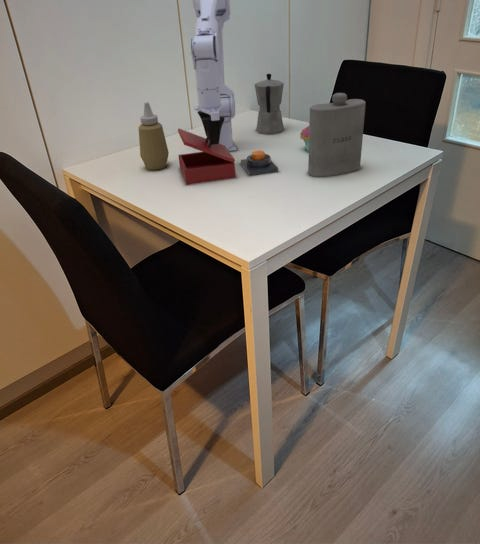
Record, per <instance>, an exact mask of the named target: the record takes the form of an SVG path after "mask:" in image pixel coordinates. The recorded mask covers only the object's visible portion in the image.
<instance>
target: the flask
mask: <svg viewBox="0 0 480 544" xmlns="http://www.w3.org/2000/svg"><path fill="white" fill-rule="evenodd" d="M331 98H332V99H331V102H327V103H318V104H317V103H316V104H312V105H311V106H310V107H309V123H308V124H309V125H308V126H309V151H308V163H307V164H308V166H307V170H308V171H307V173H308V175H309V176H311V177H315V178H323V177H324V178H325V177H331V176H339V175H344V174H348V173H352V172H355V171H357V170H359V169H360V168H361V163H362V162H361V160H362V149H363V137H364V127H365V125H364V124H365V115H366V101H365V100H364V99H361V98H350V99H348V95H347V94H346V93H345V92H335V93H334V94H333V95H332V96H331Z"/></svg>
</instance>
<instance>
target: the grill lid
mask: <svg viewBox="0 0 480 544" xmlns="http://www.w3.org/2000/svg"><path fill="white" fill-rule="evenodd" d="M177 133H178V135H179V137H180V139H181V141H182V143H183V145H184V146H186V147H190V148H192V149H195V150H198V151H199V152H205V153H208V154H211V155H214V156H216V157H219V158H222V159H225V160H227V161H230V162H233V163H235V161H236V160H235V158H234V156H233V155H232V154H231V151H228V149H227V148H226V146H224V145H222V144H214V145H211V143H210V140H209V136H208V132H207V136H206V137H203V136H201V135H198V134H195V133H192V132H191V131H187V130H184V129H182V128H179V127H178V128H177Z"/></svg>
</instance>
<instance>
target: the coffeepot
mask: <svg viewBox="0 0 480 544" xmlns="http://www.w3.org/2000/svg"><path fill="white" fill-rule="evenodd" d="M265 76H266V79H264V80H259V81H258V82H256V83H254V84H253V85H254V88H255V95H256V101H257V105H258V107H259V110H258V114H257V121H256V130H255V131H257V132H258V133H259V134H264V135H274V134H279V133H281V132H283V130H284V129H285V127H284V121H283V115H282V110H281V104H282V101H283V94H284V93H283V92H284V85H285V82H283V81H281V80H277V79H272V74H271V73H267V74H265Z"/></svg>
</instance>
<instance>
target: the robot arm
mask: <svg viewBox="0 0 480 544" xmlns="http://www.w3.org/2000/svg"><path fill="white" fill-rule="evenodd" d="M192 5H193V8H194V13H195V16H196V18H197V19H196V21H195V27H194V29H195V30H194V35H193V38H190V44H189V46H190V56H191V59H192V64H193V65H192V66H193V70H194V71H195V81H196V83H195V84H196V92H197V93H196V94H197V102H198V105H195V106H193V109H194V111H195V112H196V111H197V114H198V116H199V118H200V120H201V122H202V125H203V130H204V133H205V136H206V137H207V132H208V136H209V140H210V143H211V145H214V144H222V145H224V146H226V148H227V149H228V151H229V152H235V151H237V150H238V149H237V147H236V146H235V145H234V142H233V141H234V140H233V127H232V119H234V118H235V116H236V99H235V92H234V90H233V89H232V88H230V87H229V86H228V85H226V84H225V65H224V64H225V63H224V39H223V37H224V36H223V31H224V25H225V23H226V22H228V20H230V16H231V0H192Z"/></svg>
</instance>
